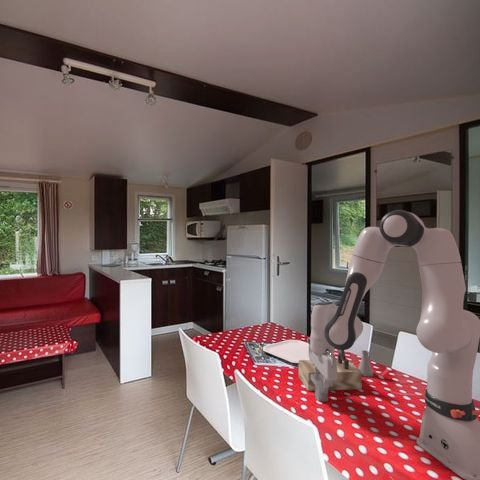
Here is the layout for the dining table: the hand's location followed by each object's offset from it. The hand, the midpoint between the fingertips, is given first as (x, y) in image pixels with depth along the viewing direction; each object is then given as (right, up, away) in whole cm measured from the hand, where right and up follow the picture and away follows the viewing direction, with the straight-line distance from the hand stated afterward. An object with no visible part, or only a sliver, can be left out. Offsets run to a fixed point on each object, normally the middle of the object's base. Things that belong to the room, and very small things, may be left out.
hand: (321, 382), depth 118 cm
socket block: (+6, -6, +14) cm, 16 cm away
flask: (+26, -7, +24) cm, 36 cm away
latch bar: (+11, +8, +14) cm, 20 cm away
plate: (-1, -7, +47) cm, 48 cm away
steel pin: (0, -6, 0) cm, 6 cm away
